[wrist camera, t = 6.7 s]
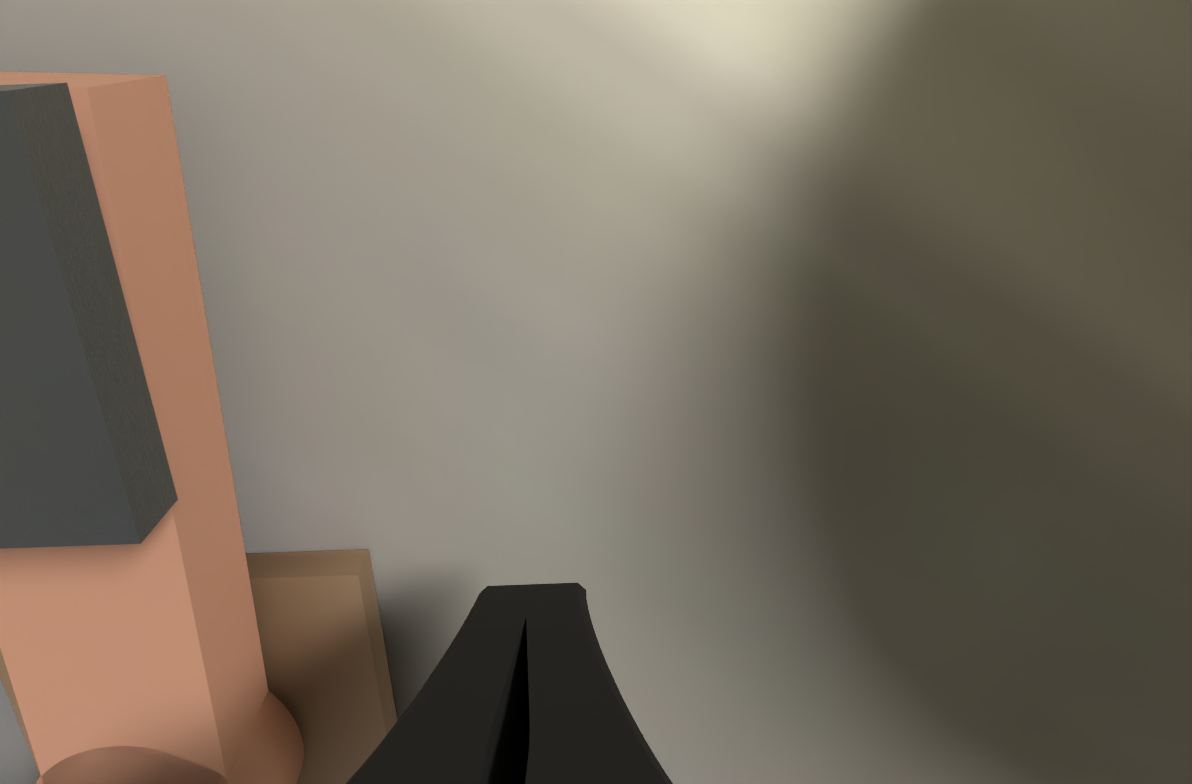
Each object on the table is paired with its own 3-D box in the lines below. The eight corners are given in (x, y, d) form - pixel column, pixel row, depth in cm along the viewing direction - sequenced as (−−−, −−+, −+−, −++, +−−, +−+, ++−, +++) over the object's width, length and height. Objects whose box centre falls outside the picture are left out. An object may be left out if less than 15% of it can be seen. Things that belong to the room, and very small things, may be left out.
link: (314, 819, 17) (258, 984, 14) (112, 817, 17) (15, 982, 14) (202, 76, 12) (73, 98, 9) (-98, 69, 12) (-329, 88, 9)
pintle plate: (94, 829, 19) (74, 862, 18) (-7, 561, 16) (-35, 588, 15) (413, 819, 19) (407, 852, 18) (368, 549, 16) (358, 574, 15)
